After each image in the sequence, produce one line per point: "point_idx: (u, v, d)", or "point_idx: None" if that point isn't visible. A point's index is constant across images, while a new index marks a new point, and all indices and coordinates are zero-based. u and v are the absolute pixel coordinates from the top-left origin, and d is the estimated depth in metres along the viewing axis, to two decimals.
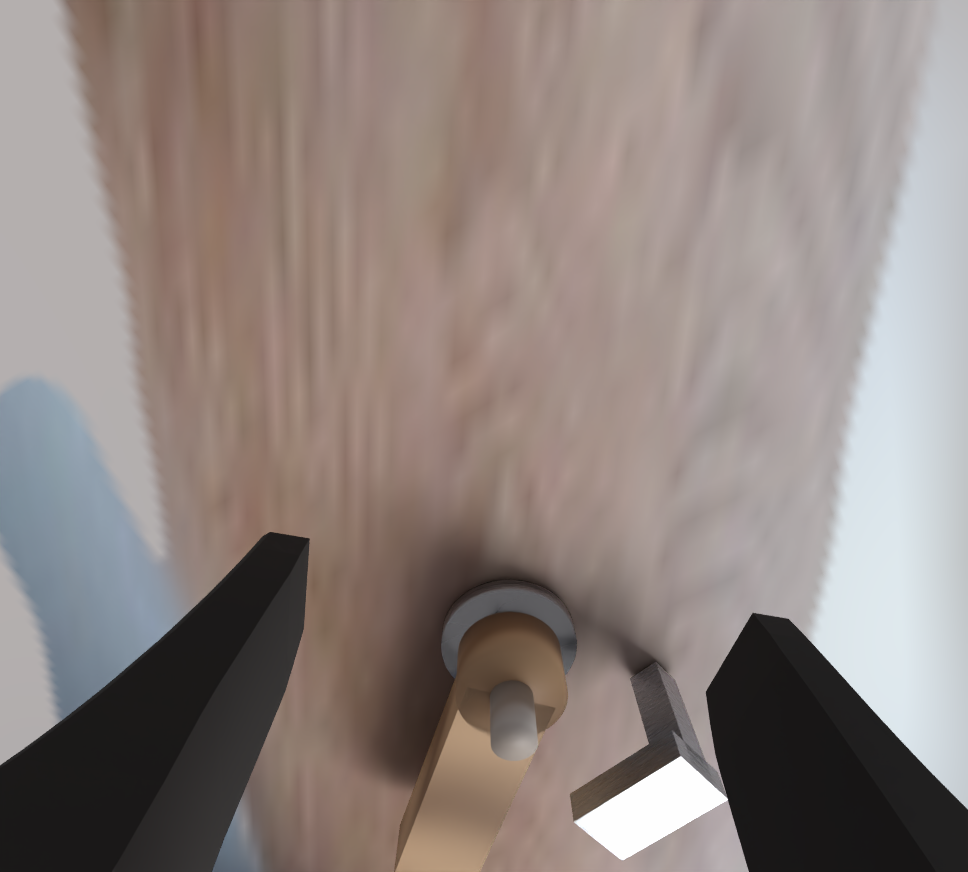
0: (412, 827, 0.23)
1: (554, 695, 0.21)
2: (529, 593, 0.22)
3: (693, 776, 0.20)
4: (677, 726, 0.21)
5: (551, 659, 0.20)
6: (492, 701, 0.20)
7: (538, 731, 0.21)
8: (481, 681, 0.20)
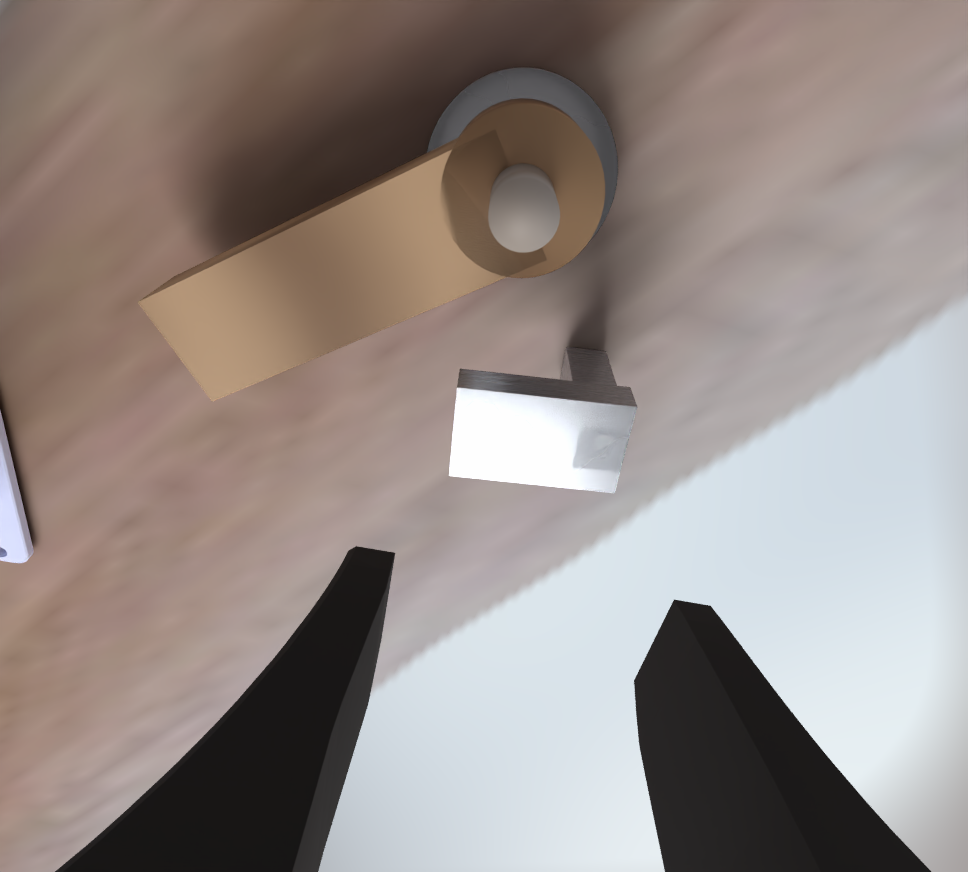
0: (227, 259, 0.15)
1: (563, 243, 0.15)
2: (611, 134, 0.15)
3: (619, 440, 0.15)
4: None
5: (602, 201, 0.14)
6: (514, 168, 0.13)
7: (496, 273, 0.15)
8: (517, 139, 0.13)
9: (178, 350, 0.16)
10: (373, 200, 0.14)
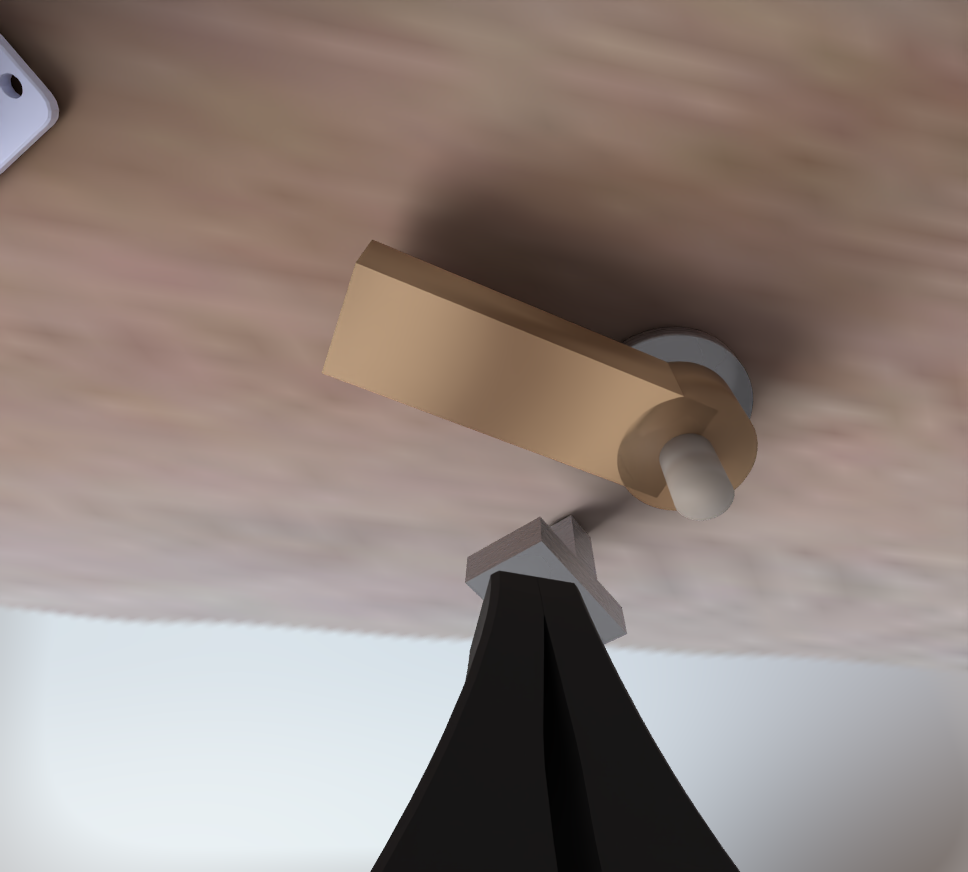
0: (464, 306, 0.15)
1: None
2: None
3: None
4: None
5: None
6: (709, 447, 0.16)
7: (620, 477, 0.17)
8: (721, 427, 0.16)
9: (343, 320, 0.15)
10: (606, 374, 0.16)
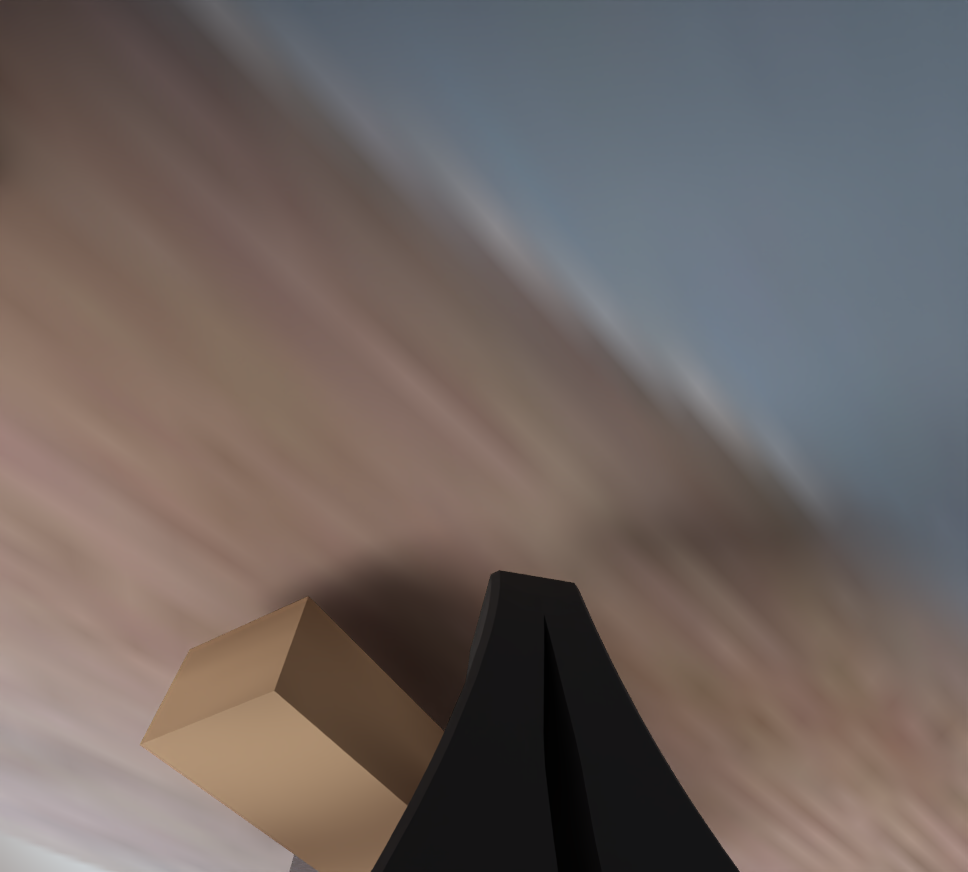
0: (373, 773, 0.11)
1: None
2: None
3: None
4: None
5: None
6: None
7: None
8: None
9: (211, 722, 0.10)
10: None
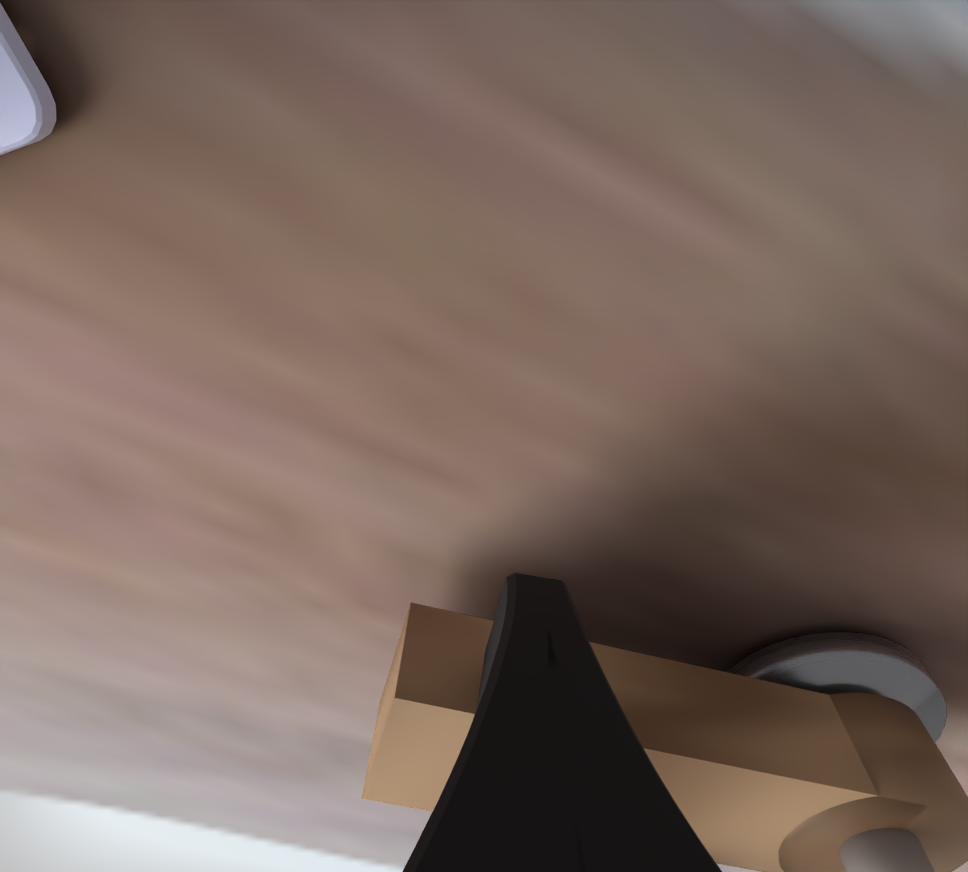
0: None
1: None
2: None
3: None
4: None
5: None
6: (920, 859, 0.11)
7: (782, 866, 0.13)
8: (933, 820, 0.11)
9: (384, 751, 0.11)
10: (762, 780, 0.11)
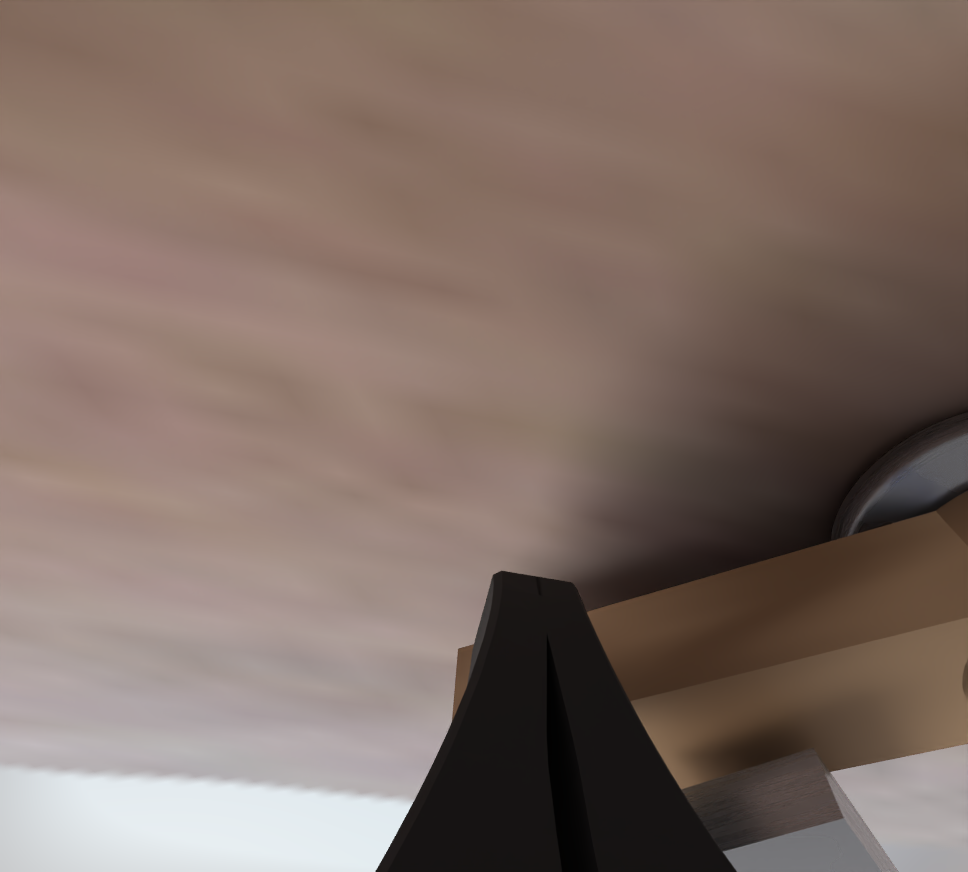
0: None
1: None
2: None
3: None
4: None
5: None
6: None
7: None
8: None
9: None
10: (861, 654, 0.09)
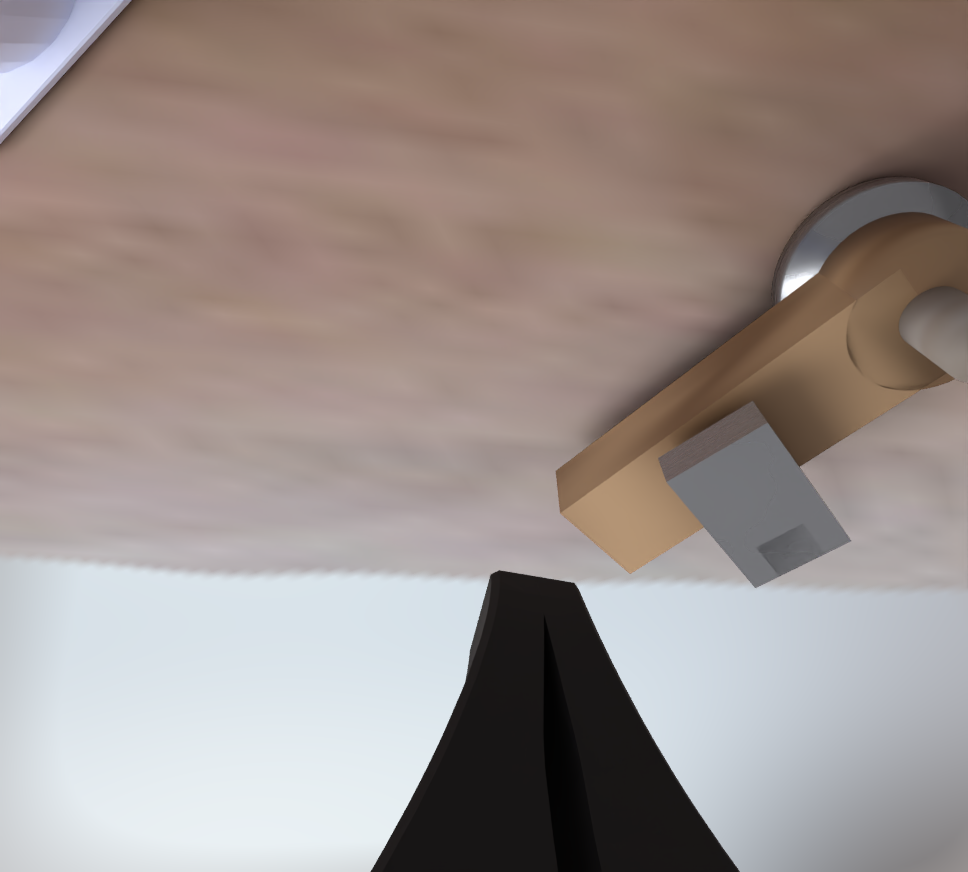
0: (638, 455, 0.16)
1: None
2: None
3: (809, 554, 0.16)
4: None
5: None
6: (935, 299, 0.13)
7: (907, 389, 0.15)
8: (924, 270, 0.13)
9: (598, 541, 0.18)
10: (778, 367, 0.15)
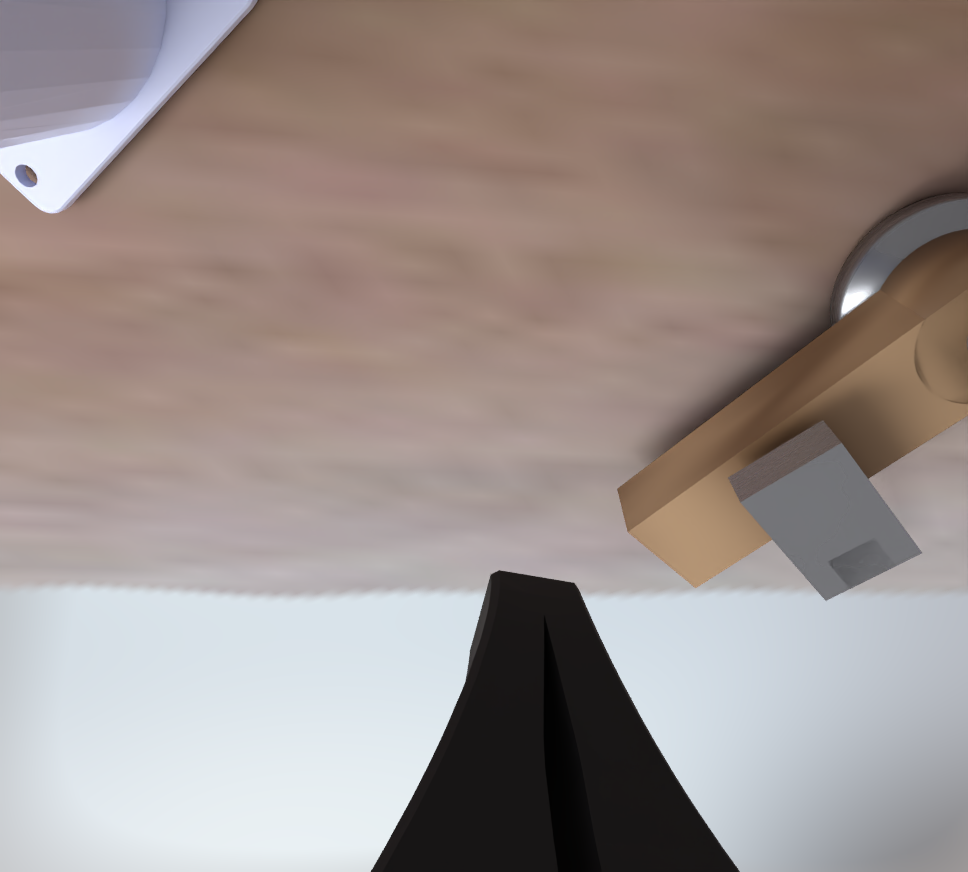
0: (706, 474, 0.17)
1: None
2: None
3: (879, 566, 0.16)
4: None
5: None
6: None
7: None
8: None
9: (664, 557, 0.18)
10: (846, 385, 0.15)
